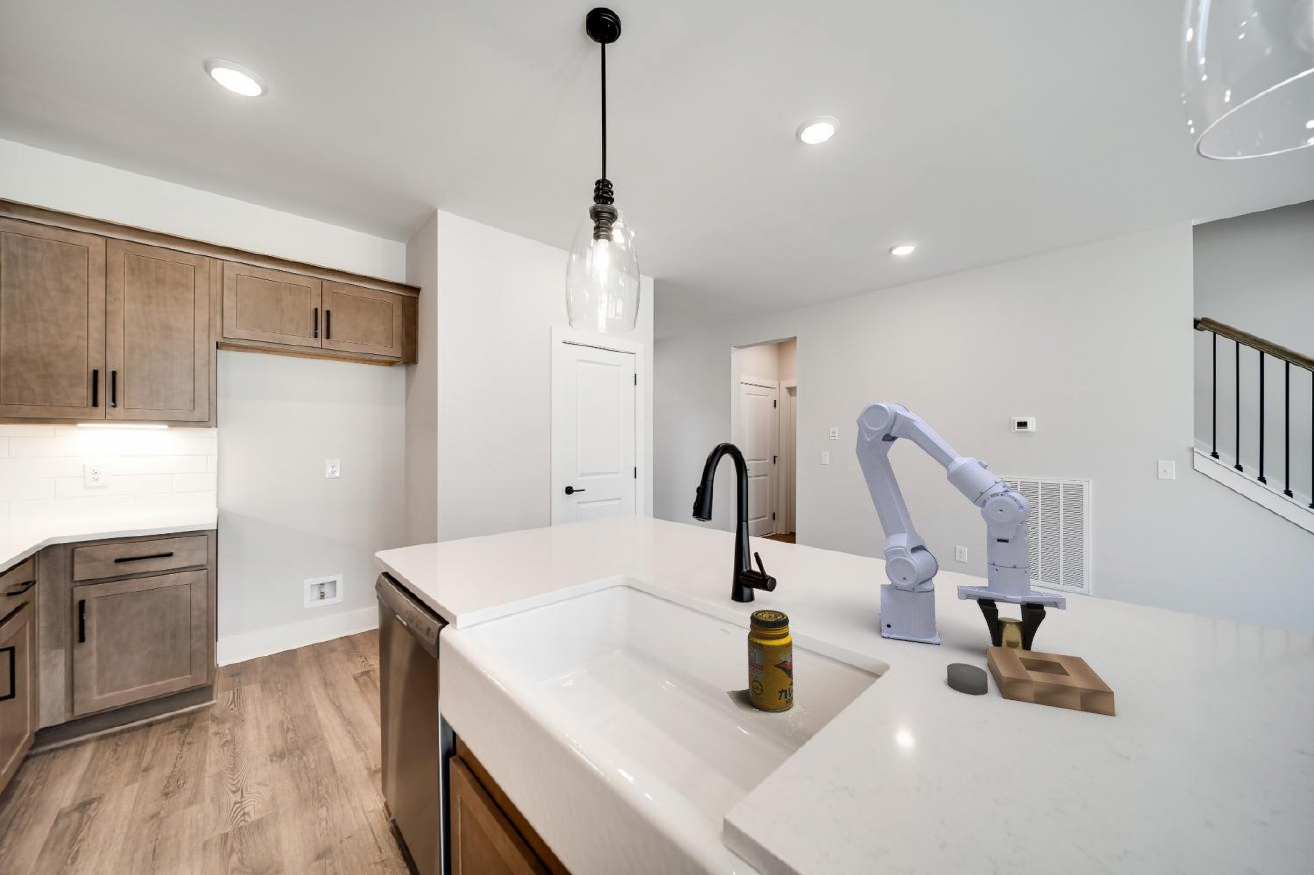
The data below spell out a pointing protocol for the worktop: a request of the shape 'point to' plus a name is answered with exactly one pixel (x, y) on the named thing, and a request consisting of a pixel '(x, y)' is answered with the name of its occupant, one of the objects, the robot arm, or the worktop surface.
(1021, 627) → the brass cylinder plug
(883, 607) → the robot arm
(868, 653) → the worktop surface
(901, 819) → the worktop surface
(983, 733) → the worktop surface
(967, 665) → the flat gray river rock
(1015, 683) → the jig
